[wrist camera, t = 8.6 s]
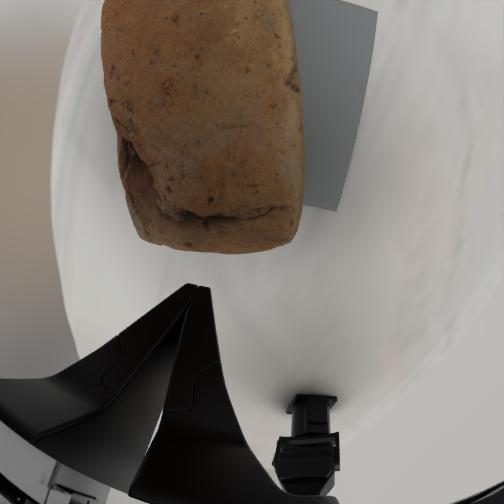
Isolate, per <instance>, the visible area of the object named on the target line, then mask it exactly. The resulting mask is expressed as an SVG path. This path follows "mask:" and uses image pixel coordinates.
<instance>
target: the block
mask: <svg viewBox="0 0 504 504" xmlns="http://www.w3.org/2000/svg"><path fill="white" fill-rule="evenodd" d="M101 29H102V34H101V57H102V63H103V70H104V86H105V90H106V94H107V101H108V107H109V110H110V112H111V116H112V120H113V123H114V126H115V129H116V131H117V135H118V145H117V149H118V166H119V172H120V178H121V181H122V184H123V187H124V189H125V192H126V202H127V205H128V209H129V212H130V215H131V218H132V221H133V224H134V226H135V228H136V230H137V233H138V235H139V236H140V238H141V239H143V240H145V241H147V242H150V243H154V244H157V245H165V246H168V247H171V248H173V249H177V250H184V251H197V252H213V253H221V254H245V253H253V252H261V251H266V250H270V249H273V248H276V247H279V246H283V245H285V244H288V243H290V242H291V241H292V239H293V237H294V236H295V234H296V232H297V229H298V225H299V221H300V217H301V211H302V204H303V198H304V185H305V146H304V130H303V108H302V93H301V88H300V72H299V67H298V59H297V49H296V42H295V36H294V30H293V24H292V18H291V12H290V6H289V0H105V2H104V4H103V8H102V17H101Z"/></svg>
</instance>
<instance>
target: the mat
mask: <svg viewBox="0 0 504 504" xmlns="http://www.w3.org/2000/svg"><path fill="white" fill-rule="evenodd" d="M289 6H290V12H291V18H292V24H293V30H294V36H295V42H296V49H297V59H298V67H299V72H300V88H301V93H302V108H303V130H304V146H305V185H304V198H303V205H308V206H313V207H318V208H323V209H328V210H332V211H337V207H338V204H339V200H340V197H341V193H342V190H343V186H344V182H345V178H346V175H347V171H348V167H349V163H350V159H351V155H352V151H353V147H354V143H355V138H356V134H357V130H358V125H359V121H360V116H361V112H362V107H363V102H364V97H365V92H366V87H367V81H368V76H369V70H370V64H371V58H372V52H373V45H374V38H375V31H376V23H377V15H378V12H377V11H374V10H371V9H368V8H365V7H362V6H358V5H355V4H352V3H348V2H345V1H341V0H289Z"/></svg>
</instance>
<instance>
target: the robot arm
mask: <svg viewBox="0 0 504 504" xmlns="http://www.w3.org/2000/svg"><path fill="white" fill-rule="evenodd" d="M336 402H337V398H336V397H322V396H309V395H296V396H295V397H294V399H293V400H292V402H291V404H290V405H289V407H288V409H287V410H286V413H287V414H292V429H291V437H283V436H282V437H279V440H277V447H276V452H275V455H274V458H273V461H272V465H273V466H274V468H275V472H276V474H277V477H278V479H279V482H280V484H281V487H282V489H283V490H281V489H280V488H279V487H278V486H277V485H276V484H275V482H274V481H273V480H272V478H271V477H270V476H269V474H268V473H267V472H266V470H265V469H264V468H263V466H262V465H261V463H260V462H259V461H258V459H257V458H256V456H255V455H254V454H253V452H252V451H251V449H250V447H249V446H248V444H247V442H246V440H245V437H244V435H243V433H242V430H241V428H240V425H239V423H238V420H237V417H236V415H235V412H234V409H233V407H232V404H231V401H230V398H229V395H228V392H227V388H226V385H225V380H224V376H223V370H222V364H221V359H220V352H219V346H218V339H217V332H216V326H215V318H214V311H213V304H212V296H211V289H210V288H209V287H204V286H199V287H198V286H197V285H194V284H190V283H187V284H185V285H184V286H182V287H181V288H180V289H178V290H177V291H175V292H174V293H173V294H171V295H170V296H169V297H167V298H166V299H165V300H163V301H162V302H161V303H159V304H158V305H157V306H155V307H154V308H153V309H151V310H150V311H149V312H147V313H146V314H145V315H143V316H142V317H141V318H139V319H138V320H137V321H135V322H134V323H133V324H131V325H130V326H129V327H127V328H126V329H125V330H123V331H122V332H121V333H119V336H118V335H116V336H115V337H114V338H112V339H111V340H110V341H108V342H107V343H106V344H104V345H103V346H101V347H100V348H99V349H97V350H96V351H94V352H92V353H91V354H89V355H88V356H86V357H84V358H83V359H81V360H79V361H78V362H76V363H74V364H73V365H71V366H69V367H67V368H66V369H64V370H63V371H61V372H59V373H57V374H55V375H53V376H50V377H46V378H41V379H40V378H39V379H0V504H106V501H107V498H108V495H109V491H110V488H111V487H112V488H114V489H117V490H119V491H122V492H124V493H127V494H128V496H129V497H132V498H135V499H138V500H141V501H143V502H146V503H149V504H339V502H338V500H337V499H336V497H334V496H326V495H327V494H328V493H329V492H330V490H331V489H332V488H333V487H334V480H335V479H334V478H335V477H334V476H335V471H340V452H339V451H340V449H339V432H335V433H330V412H329V410H330V408H331V407H332V406H333V405H334V404H335V403H336ZM163 406H164V407H163ZM162 409H163V414H162V417H161V421H160V425H159V428H158V431H157V433H156V435H155V437H154V439H153V441H152V443H151V445H150V447H149V449H148V445H149V443H150V440H151V438H152V435H153V432H154V430H155V427H156V424H157V422H158V419H159V417H160V414H161V411H162ZM334 445H335V446H334ZM147 449H148V451H147ZM146 451H147V453H146ZM145 454H146V455H145ZM451 504H504V481H502V482H500V483H498V484H496V485H494V486H492V487H490V488H488V489H486V490H483V491H481V492H479V493H477V494H474V495H472V496H469V497H467V498H465V499H462V500H459V501H457V502H454V503H451Z"/></svg>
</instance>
